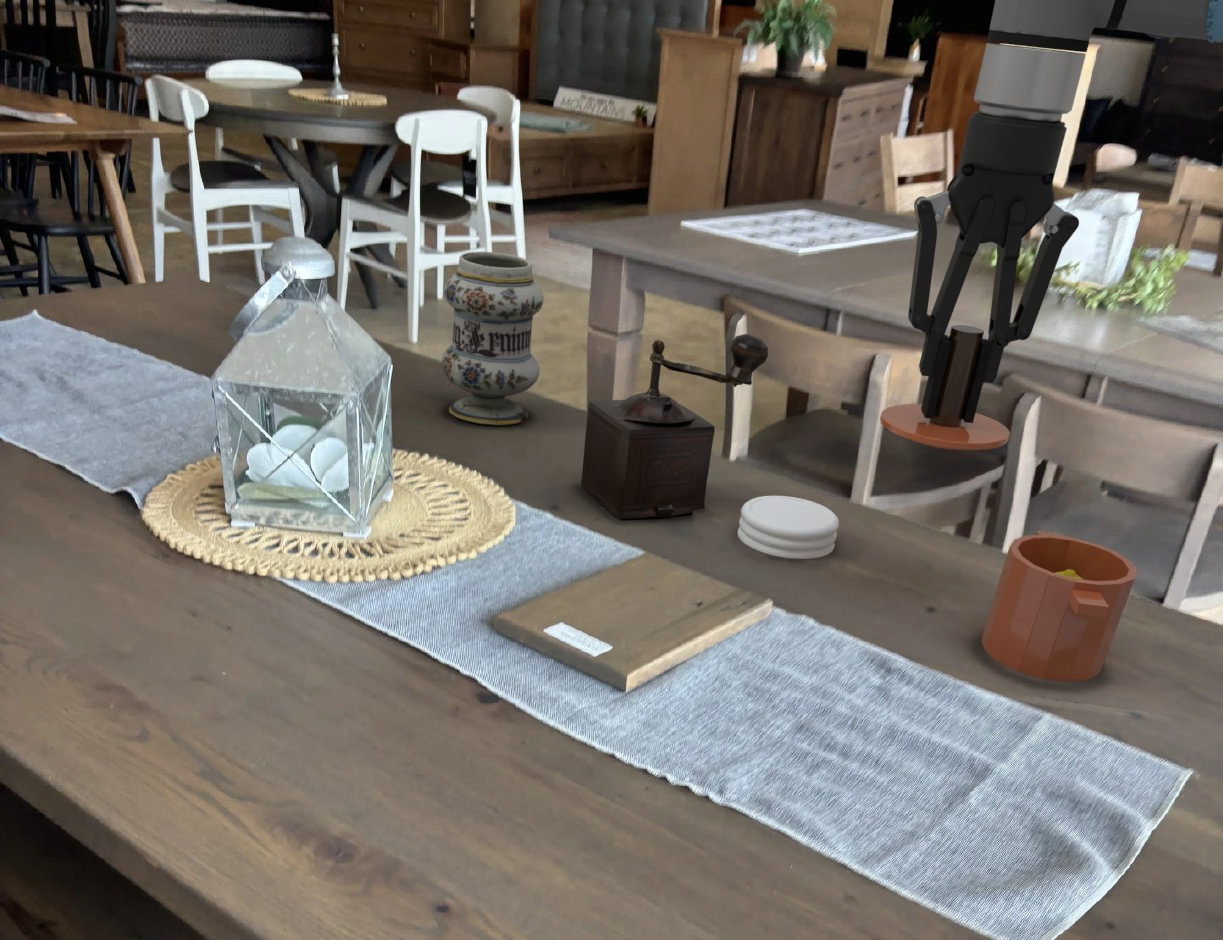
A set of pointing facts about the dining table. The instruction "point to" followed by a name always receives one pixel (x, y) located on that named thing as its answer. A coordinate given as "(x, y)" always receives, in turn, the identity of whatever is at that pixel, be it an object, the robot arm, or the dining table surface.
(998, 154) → the robot arm
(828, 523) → the white stacked discs
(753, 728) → the dining table surface
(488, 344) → the apothecary jar
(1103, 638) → the pot
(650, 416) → the coffee grinder
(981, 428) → the lid
